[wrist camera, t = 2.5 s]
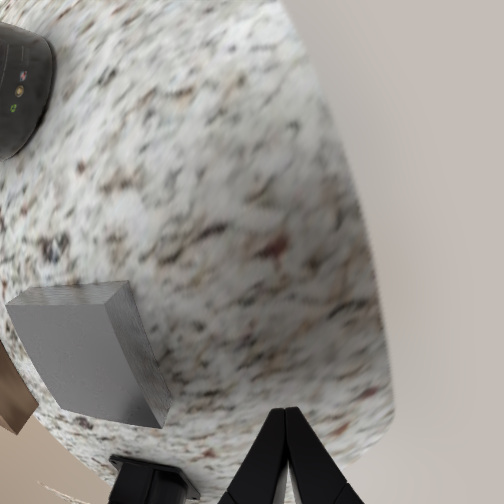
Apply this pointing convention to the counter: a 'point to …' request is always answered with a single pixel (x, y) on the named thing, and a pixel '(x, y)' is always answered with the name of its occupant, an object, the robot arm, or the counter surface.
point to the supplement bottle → (21, 85)
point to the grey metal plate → (92, 351)
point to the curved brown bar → (13, 396)
